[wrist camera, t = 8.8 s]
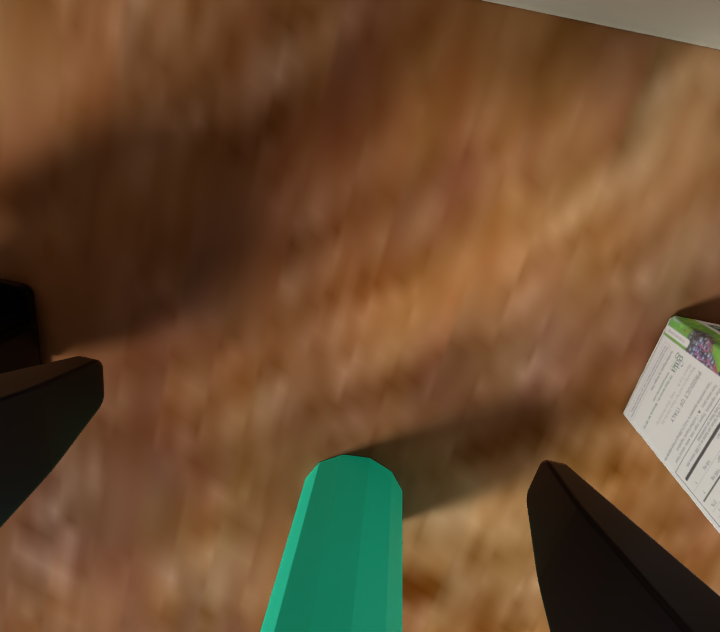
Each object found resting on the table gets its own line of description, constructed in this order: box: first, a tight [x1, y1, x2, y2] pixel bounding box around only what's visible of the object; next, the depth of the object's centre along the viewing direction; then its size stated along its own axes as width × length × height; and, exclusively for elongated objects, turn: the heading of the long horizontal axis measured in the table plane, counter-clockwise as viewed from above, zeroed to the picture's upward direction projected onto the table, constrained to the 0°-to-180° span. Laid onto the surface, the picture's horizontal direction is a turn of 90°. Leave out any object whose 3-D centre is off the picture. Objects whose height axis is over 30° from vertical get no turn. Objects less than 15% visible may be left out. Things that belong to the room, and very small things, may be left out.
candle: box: [260, 455, 402, 632], centre depth 20 cm, size 6×6×12 cm
